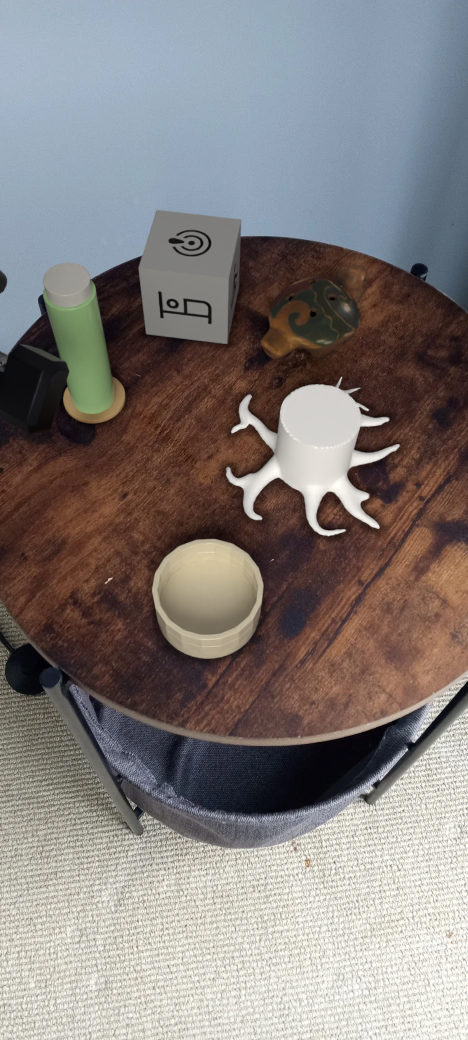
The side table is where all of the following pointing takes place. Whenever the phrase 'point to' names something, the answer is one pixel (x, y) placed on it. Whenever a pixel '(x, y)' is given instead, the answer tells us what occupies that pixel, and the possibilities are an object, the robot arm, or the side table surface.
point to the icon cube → (190, 276)
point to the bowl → (208, 598)
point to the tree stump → (313, 450)
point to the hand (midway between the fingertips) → (25, 358)
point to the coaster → (97, 417)
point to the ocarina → (315, 314)
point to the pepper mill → (79, 336)
